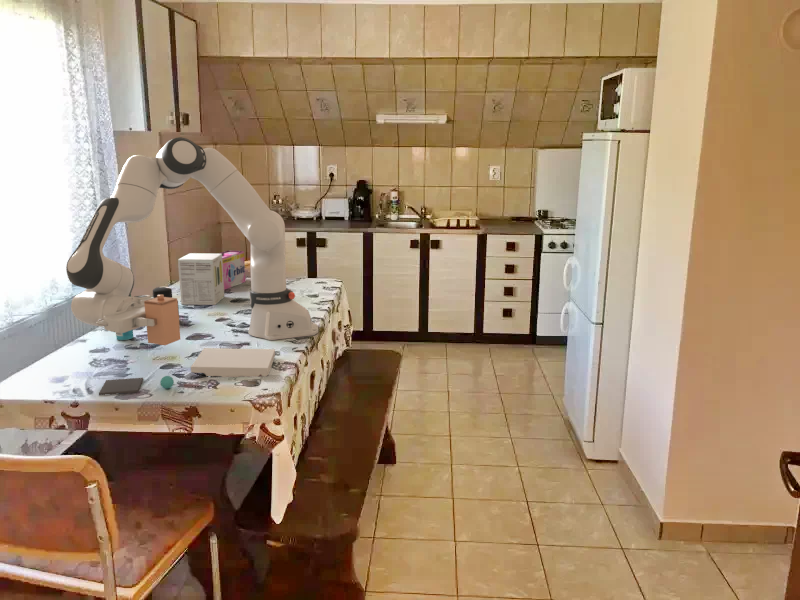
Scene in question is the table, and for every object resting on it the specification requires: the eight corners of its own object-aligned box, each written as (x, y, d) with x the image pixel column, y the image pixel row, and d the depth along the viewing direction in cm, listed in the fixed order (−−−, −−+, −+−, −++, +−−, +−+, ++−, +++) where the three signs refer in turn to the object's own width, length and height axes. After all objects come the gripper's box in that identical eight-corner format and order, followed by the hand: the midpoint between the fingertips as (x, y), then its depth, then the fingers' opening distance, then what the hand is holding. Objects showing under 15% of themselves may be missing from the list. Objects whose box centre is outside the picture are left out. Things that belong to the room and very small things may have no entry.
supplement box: (215, 305, 248) (212, 259, 244) (180, 304, 248) (177, 259, 244) (225, 296, 261) (222, 253, 256) (192, 296, 261) (189, 252, 257)
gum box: (215, 293, 266) (213, 260, 262) (198, 292, 268) (196, 259, 265) (246, 281, 288) (244, 251, 284) (230, 280, 290) (228, 249, 287)
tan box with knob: (163, 336, 174) (159, 291, 171) (180, 339, 172) (176, 293, 169) (148, 342, 169) (143, 296, 166) (165, 345, 167) (161, 298, 164)
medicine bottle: (168, 325, 221) (165, 290, 219) (149, 324, 223) (146, 289, 220) (179, 319, 228) (177, 286, 225) (161, 318, 230) (158, 284, 227)
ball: (174, 385, 169) (173, 373, 168) (173, 390, 166) (172, 378, 165) (161, 386, 168) (160, 374, 168) (160, 390, 165) (159, 378, 165)
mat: (143, 379, 173) (143, 377, 173) (137, 392, 164) (137, 390, 164) (106, 382, 171) (106, 380, 171) (98, 395, 162) (98, 393, 162)
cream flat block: (275, 360, 191) (204, 359, 189) (274, 349, 190) (204, 348, 189) (267, 379, 176) (191, 378, 175) (267, 368, 175) (190, 366, 174)
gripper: (90, 311, 164) (133, 317, 159) (151, 293, 182) (190, 298, 177) (93, 335, 165) (135, 342, 160) (153, 315, 184) (192, 320, 178)
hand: (165, 319), depth 169 cm, fingers closed on tan box with knob, 6 cm apart
